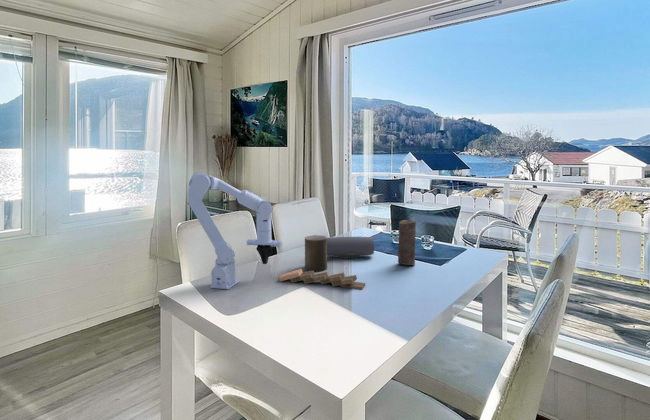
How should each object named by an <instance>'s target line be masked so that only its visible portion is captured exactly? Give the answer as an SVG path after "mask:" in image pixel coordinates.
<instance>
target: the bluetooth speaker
mask: <svg viewBox="0 0 650 420" xmlns="http://www.w3.org/2000/svg"><path fill="white" fill-rule="evenodd" d="M373 255H375V245H374V237H371V236H336V237H335V236H334V237H327V257H337V258H338V259H359V258H360V257H364V256H365V257H366V256H373Z"/></svg>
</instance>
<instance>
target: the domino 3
mask: <svg viewBox="0 0 650 420" xmlns="http://www.w3.org/2000/svg"><path fill="white" fill-rule="evenodd" d="M328 276H329V274H328V272H327V271H325V272H324V271H323V272H320V273H316V274H315V273H314V276H313V277H312V278H310V279H306V280H303V282H304V284H305V285H306V284H312V283H316V282H320V281H321V280H326V278H327V277H328Z"/></svg>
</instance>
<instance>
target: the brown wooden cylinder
mask: <svg viewBox="0 0 650 420" xmlns="http://www.w3.org/2000/svg"><path fill="white" fill-rule="evenodd" d="M416 223H417V221H416V220H413V219H408V220H407V219H405V220H404V219H402V220H400V221H399V223H398V226H399V227H398V248H397V251H398V252H397V253H398V254H397V256H398V257H397V263H398V264H400V265H403V266H410V265H412V266H414V265H416V228H417V225H416Z"/></svg>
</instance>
